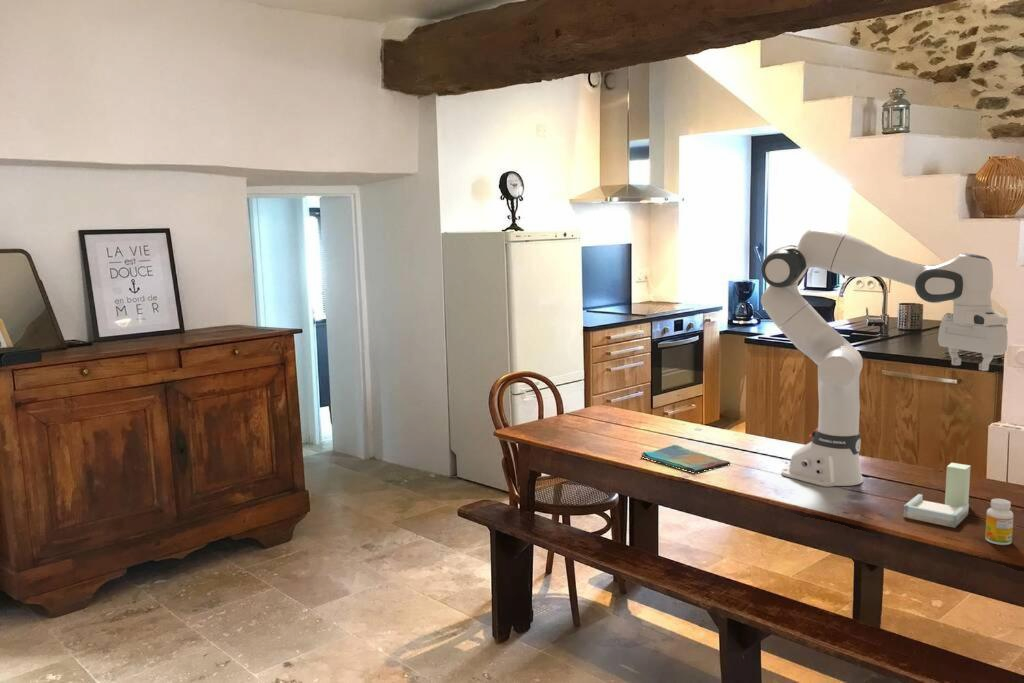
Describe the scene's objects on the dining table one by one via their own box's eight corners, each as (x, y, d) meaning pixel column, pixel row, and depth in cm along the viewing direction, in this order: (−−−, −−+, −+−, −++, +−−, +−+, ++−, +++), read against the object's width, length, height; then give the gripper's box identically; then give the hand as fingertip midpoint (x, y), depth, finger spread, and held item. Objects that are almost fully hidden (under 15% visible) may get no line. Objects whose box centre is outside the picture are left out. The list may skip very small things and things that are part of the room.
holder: (903, 517, 211) (903, 505, 210) (917, 504, 219) (918, 493, 219) (954, 527, 202) (955, 515, 202) (968, 514, 211) (968, 503, 211)
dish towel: (676, 450, 279) (676, 443, 278) (731, 466, 260) (731, 458, 259) (639, 459, 269) (639, 452, 268) (694, 476, 250) (694, 468, 249)
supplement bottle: (982, 536, 197) (984, 496, 196) (1008, 538, 195) (1010, 498, 194) (988, 544, 192) (990, 503, 191) (1014, 546, 190) (1017, 505, 189)
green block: (944, 506, 217) (946, 466, 216) (949, 502, 221) (951, 462, 219) (963, 510, 214) (965, 469, 213) (968, 506, 218) (970, 465, 216)
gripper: (933, 312, 227) (931, 362, 229) (992, 319, 207) (989, 374, 209) (952, 311, 228) (950, 361, 230) (1013, 318, 209) (1010, 372, 210)
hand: (969, 367), depth 219 cm, fingers open, 8 cm apart
